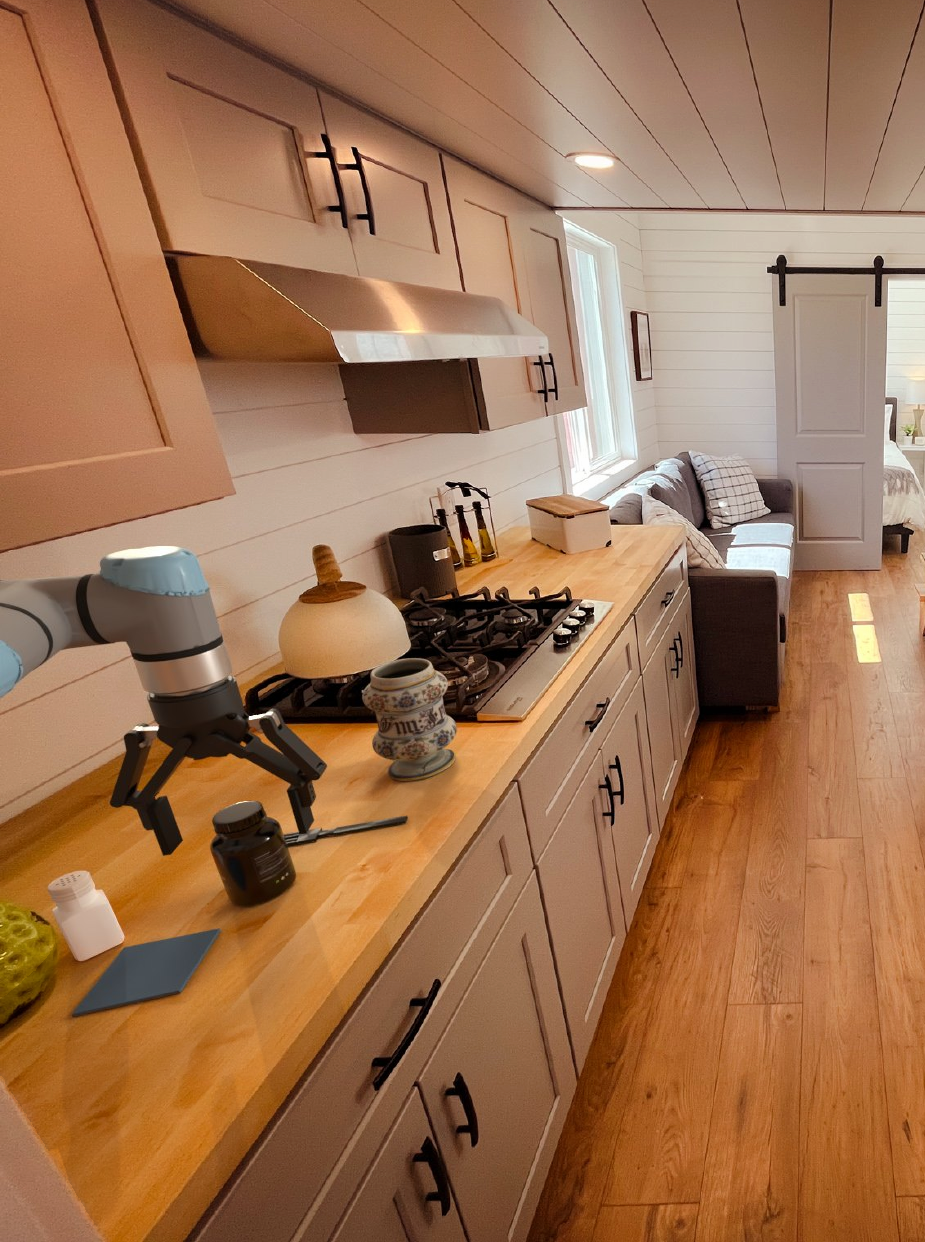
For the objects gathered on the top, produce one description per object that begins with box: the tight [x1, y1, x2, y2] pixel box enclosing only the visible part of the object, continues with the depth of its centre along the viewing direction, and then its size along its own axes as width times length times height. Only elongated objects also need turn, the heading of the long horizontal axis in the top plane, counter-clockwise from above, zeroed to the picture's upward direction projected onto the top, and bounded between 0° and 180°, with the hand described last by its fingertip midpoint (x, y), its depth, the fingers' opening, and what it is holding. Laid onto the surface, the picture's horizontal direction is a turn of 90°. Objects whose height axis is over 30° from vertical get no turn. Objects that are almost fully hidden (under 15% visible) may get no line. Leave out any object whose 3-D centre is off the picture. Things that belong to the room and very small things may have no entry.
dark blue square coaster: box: [70, 928, 221, 1017], centre depth 75 cm, size 9×9×1 cm
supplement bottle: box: [209, 800, 297, 907], centre depth 85 cm, size 7×7×12 cm
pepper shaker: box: [46, 870, 126, 962], centre depth 77 cm, size 4×4×10 cm
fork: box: [283, 815, 409, 847], centre depth 97 cm, size 17×3×1 cm, turn 109°
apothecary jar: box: [361, 657, 458, 782], centre depth 111 cm, size 12×12×18 cm
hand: (241, 837), depth 84 cm, fingers open, 13 cm apart
